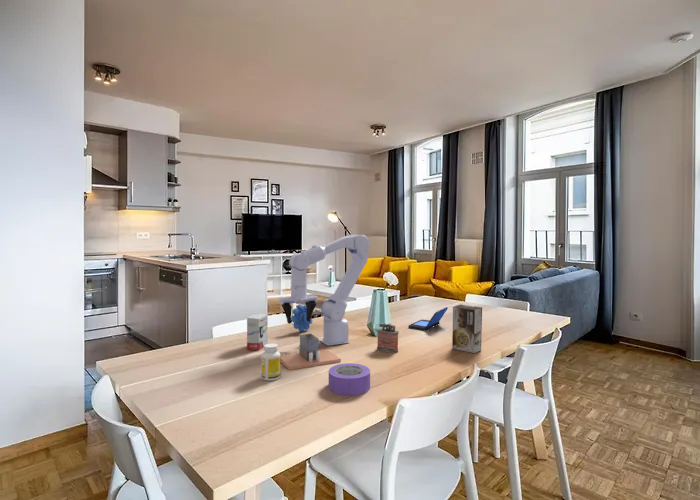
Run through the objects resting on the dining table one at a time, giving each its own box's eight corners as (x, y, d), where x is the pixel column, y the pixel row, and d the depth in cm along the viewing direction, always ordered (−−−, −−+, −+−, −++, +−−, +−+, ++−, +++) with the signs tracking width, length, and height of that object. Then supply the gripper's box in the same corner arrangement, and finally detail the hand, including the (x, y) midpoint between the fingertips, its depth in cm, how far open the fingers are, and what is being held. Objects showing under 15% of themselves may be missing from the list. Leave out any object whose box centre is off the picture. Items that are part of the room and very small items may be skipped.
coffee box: (481, 350, 149) (483, 307, 148) (474, 353, 144) (475, 309, 143) (459, 344, 155) (460, 303, 154) (451, 348, 150) (452, 306, 149)
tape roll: (337, 399, 105) (337, 380, 104) (322, 383, 115) (322, 366, 115) (377, 392, 109) (377, 374, 109) (359, 377, 120) (359, 361, 120)
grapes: (298, 336, 164) (298, 307, 163) (287, 333, 168) (287, 305, 168) (318, 331, 173) (318, 303, 172) (308, 328, 177) (308, 301, 177)
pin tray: (326, 351, 144) (326, 340, 144) (340, 361, 133) (340, 350, 133) (278, 358, 136) (278, 347, 136) (289, 369, 125) (289, 357, 125)
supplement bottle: (283, 375, 120) (283, 343, 119) (274, 382, 115) (274, 348, 114) (267, 373, 122) (267, 341, 121) (258, 379, 117) (258, 346, 116)
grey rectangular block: (310, 353, 139) (310, 333, 138) (318, 359, 132) (318, 338, 132) (299, 355, 137) (299, 334, 136) (307, 361, 130) (307, 340, 130)
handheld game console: (421, 322, 193) (421, 303, 193) (448, 326, 186) (448, 306, 185) (407, 328, 180) (407, 308, 180) (435, 333, 173) (435, 312, 172)
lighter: (399, 350, 146) (399, 323, 146) (396, 353, 143) (397, 325, 143) (378, 347, 150) (379, 321, 149) (375, 350, 147) (376, 323, 146)
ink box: (258, 351, 144) (258, 318, 143) (246, 350, 145) (246, 317, 144) (268, 344, 152) (268, 313, 152) (256, 343, 153) (256, 313, 153)
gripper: (283, 288, 142) (283, 326, 142) (321, 286, 148) (320, 322, 149) (277, 285, 148) (277, 322, 149) (314, 283, 154) (313, 318, 155)
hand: (298, 321), depth 149 cm, fingers open, 7 cm apart
